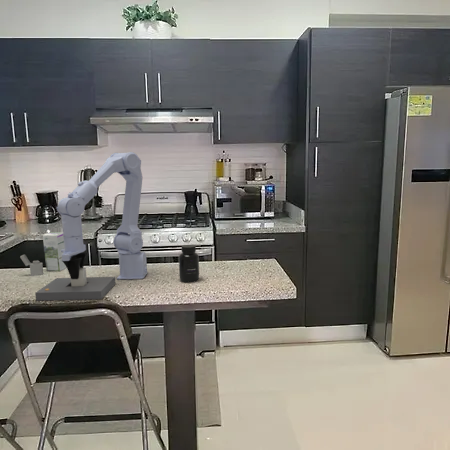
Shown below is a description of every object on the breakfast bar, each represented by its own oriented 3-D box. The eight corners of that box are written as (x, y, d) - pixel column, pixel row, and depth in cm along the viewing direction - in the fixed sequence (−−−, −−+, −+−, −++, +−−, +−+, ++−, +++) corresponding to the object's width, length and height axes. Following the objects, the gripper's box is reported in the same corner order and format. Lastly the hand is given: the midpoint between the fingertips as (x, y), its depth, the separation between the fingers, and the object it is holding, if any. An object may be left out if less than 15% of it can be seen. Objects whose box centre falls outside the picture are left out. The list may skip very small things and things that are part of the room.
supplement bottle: (191, 284, 132) (190, 249, 130) (175, 281, 135) (174, 247, 133) (203, 278, 137) (202, 245, 135) (187, 276, 141) (186, 243, 139)
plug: (87, 285, 128) (85, 264, 127) (84, 288, 125) (82, 266, 124) (74, 286, 128) (73, 264, 127) (71, 288, 125) (69, 266, 124)
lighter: (43, 273, 149) (41, 253, 148) (42, 274, 148) (40, 254, 146) (23, 275, 148) (21, 254, 147) (22, 276, 146) (19, 255, 145)
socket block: (115, 283, 134) (115, 276, 134) (101, 299, 119) (100, 290, 119) (57, 285, 134) (56, 277, 134) (36, 300, 119) (35, 292, 119)
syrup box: (67, 267, 157) (64, 231, 155) (59, 271, 151) (56, 234, 149) (53, 267, 158) (50, 231, 155) (45, 271, 152) (42, 234, 150)
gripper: (69, 231, 131) (73, 271, 133) (50, 240, 117) (54, 284, 119) (90, 231, 131) (93, 270, 133) (73, 240, 117) (77, 284, 119)
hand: (76, 277), depth 126 cm, fingers closed on plug, 3 cm apart
